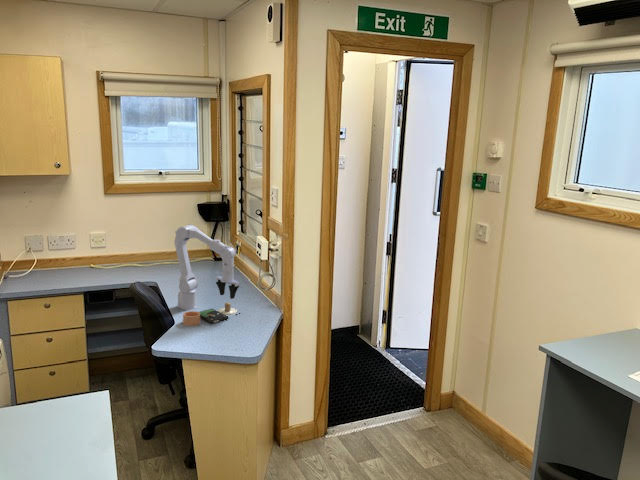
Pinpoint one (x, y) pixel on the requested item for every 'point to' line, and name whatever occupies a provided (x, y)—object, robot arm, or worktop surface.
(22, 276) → the worktop surface
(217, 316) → the disk drive
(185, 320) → the bowl
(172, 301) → the worktop surface
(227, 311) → the lid
